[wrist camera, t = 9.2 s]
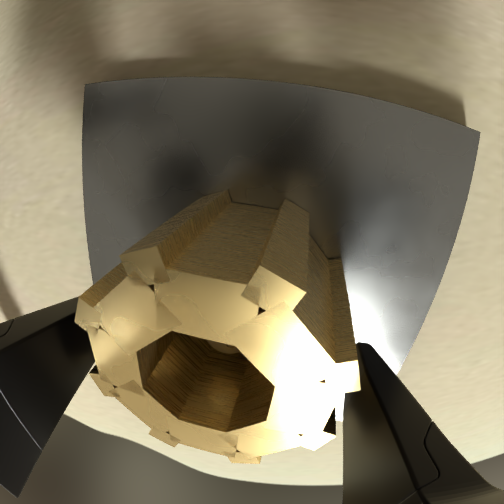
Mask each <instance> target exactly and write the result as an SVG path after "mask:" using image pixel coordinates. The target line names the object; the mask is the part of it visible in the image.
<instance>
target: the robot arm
mask: <svg viewBox="0 0 504 504" xmlns="http://www.w3.org/2000/svg"><path fill="white" fill-rule="evenodd" d="M79 297H80V296H79ZM79 297H76V298H73V299H70V300H67V301H64V302H61V303H58V304H55V305H52V306H50V307H47V308H44V309H41V310H38V311H35V312H32V313H29V314H26V315H23V316H20V317H18V318H15V320H14V319H12V320H9V321H6V322H3V323H0V485H1V486H3V487H4V488H5V489H6V490H8V491H9V492H10V493H11V494H13V495H14V496H15V497H16V498H18V497H19V495H20V494H21V492H22V490H23V487H24V486H25V483H26V482H27V480H28V478H29V475H30V474H31V472H32V470H33V468H34V466H35V464H36V462H37V460H38V458H39V456H40V455H41V453H42V450H43V449H44V447H45V445H46V443H47V441H48V439H49V438H50V436H51V434H52V432H53V431H54V429H55V427H56V425H57V423H58V422H59V420H60V418H61V417H62V415H63V413H64V411H65V410H66V408H67V406H68V405H69V403H70V401H71V400H72V398H73V396H74V395H75V393H76V391H77V390H78V388H79V386H80V385H81V383H82V381H83V380H84V378H85V377H86V375H87V373H88V372H89V370H90V369H91V367H92V365H93V364H94V362H95V358H94V354H93V351H92V347H91V343H90V339H89V335H88V332H87V331H86V330H84V329H83V328H82V327H80V326H79V325H78V324H76V323H75V316H76V310H77V304H78V298H79ZM356 350H357V357H358V366H359V376H360V388H361V390H359V391H353V392H346V393H344V404H343V500H342V504H504V490H501V489H499V488H496V487H494V486H492V485H491V484H490V483H488V482H487V481H486V480H485V479H484V478H483V477H482V476H481V475H480V474H479V473H478V472H477V470H476V469H474V467H472V465H471V464H470V463H469V462H468V461H467V460H466V459H465V458H464V457H463V456H462V455H461V454H460V453H459V451H458V450H457V449H456V448H455V447H454V446H453V445H452V444H451V443H450V441H449V440H448V439H447V438H446V437H445V435H444V434H443V433H442V432H441V430H440V429H439V428H438V427H437V425H436V424H435V423H434V422H433V421H432V419H431V418H430V417H429V415H428V414H427V413H426V412H425V410H424V409H423V408H422V407H421V405H420V404H419V403H418V402H417V400H416V399H415V398H414V397H413V395H412V394H411V393H410V392H409V390H408V389H407V388H406V387H405V385H404V384H403V383H402V382H401V380H400V379H399V378H398V377H397V375H396V374H395V373H394V372H393V371H392V369H391V368H390V367H389V366H388V364H387V363H386V362H385V361H384V360H383V358H382V357H381V356H380V355H379V354H378V352H377V351H376V350H375V349H374V348H373V346H372V345H371V344H369V343H364V342H357V343H356ZM431 421H432V422H431Z"/></svg>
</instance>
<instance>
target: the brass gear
mask: <svg viewBox="0 0 504 504" xmlns="http://www.w3.org/2000/svg"><path fill="white" fill-rule="evenodd" d="M309 215H310V213H309V212H307V211H305V210H304V209H302V208H301V207H299V206H297V205H296V204H294V203H292V202H291V201H289V200H287V199H286V198H285V199H284V201H283V202H282V204H281V206H280V207H279V209H272V208H265V207H259V206H253V205H246V204H240V203H233V202H231V198H230V195H229V192H228V190H224V191H220V192H217V193H213V194H209V195H206V196H202V197H201V198H199V199H198V200H196V201H195V202H193V203H192V204H191V205H189V206H188V207H186V208H185V209H183V210H182V211H180V212H179V213H177V214H176V215H174V216H173V217H172V218H170V219H169V220H167V221H166V222H164V223H163V224H162V225H160V226H159V227H157V228H156V229H155V230H153V231H152V232H150V233H149V234H148V235H146V236H145V237H143V238H142V239H141V240H139V241H138V242H137V243H135V244H134V245H133V246H131V247H130V248H129V249H127V250H126V251H125V252H123V253H122V254H121V255H119V257H120V259H121V261H122V262H121V263H120V264H118V265H117V266H116V267H115V268H113V269H112V270H111V271H110V272H108V273H107V274H106V275H105V276H103V277H102V278H101V279H100V280H99V281H97V282H96V283H95V284H94V285H93V286H91V287H90V288H89V289H88V290H87V291H85V292H84V293H83V294H82V295H81V296H80V297H79V298H78V304H77V310H76V316H75V323H76V324H78V325H79V326H80V327H82V328H83V329H84V330H86V331H87V332H88V335H89V339H90V343H91V347H92V351H93V354H94V358H95V362H96V365H95V366H94V368H93V369H92V370H91V371H90V373H89V374H90V376H91V377H92V379H93V380H94V382H95V383H96V385H97V386H98V387H99V389H100V390H101V392H102V393H103V394H104V396H111V397H115V398H116V399H117V400H119V401H120V402H121V403H122V404H123V405H124V406H125V407H126V408H127V409H129V410H130V411H131V412H132V413H133V414H134V415H136V416H137V417H138V418H139V419H140V420H141V421H143V422H144V423H145V424H146V425H148V426H149V427H150V428H151V430H150V432H149V434H150V435H152V436H153V437H155V438H157V439H159V440H161V441H163V442H165V443H167V444H169V445H171V446H173V447H175V446H176V445H177V444H178V443H180V444H183V445H187V446H190V447H194V448H197V449H201V450H205V451H208V452H212V453H216V454H220V455H225V456H227V457H228V458H229V460H230V461H231V463H250V464H260V460H261V456H262V455H267V454H271V453H275V452H279V451H283V450H287V449H291V448H294V447H298V446H303V447H306V448H309V449H311V450H316V449H317V448H319V447H320V446H322V445H323V444H325V443H326V442H328V441H329V440H331V439H332V438H334V437H335V436H336V402H337V400H338V398H339V395H340V393H346V392H353V391H359V390H361V388H360V376H359V366H358V357H357V350H356V342H355V335H354V329H353V322H352V316H351V309H350V303H349V298H348V292H347V286H346V281H345V275H344V270H343V265H342V260H341V258H337V259H332V260H328V259H327V258H326V256H325V255H324V254H323V252H322V251H321V249H320V248H319V247H318V245H317V244H316V242H315V241H314V240H313V238H312V237H311V235H310V234H309ZM206 339H207V340H211V341H215V342H220V343H224V344H229V345H233V346H236V347H237V348H238V349H239V350H240V352H238V353H234V354H227V353H222V352H220V351H217V350H216V349H214V348H213V347H212V346H211V345H210V344H209V343H208V341H207V340H206Z"/></svg>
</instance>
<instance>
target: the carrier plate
mask: <svg viewBox="0 0 504 504" xmlns="http://www.w3.org/2000/svg"><path fill="white" fill-rule="evenodd" d="M479 138H480V132H479V131H476V130H474V129H471V128H469V127H466V126H463V125H461V124H458V123H455V122H452V121H450V120H447V119H444V118H441V117H438V116H435V115H432V114H429V113H426V112H423V111H419V110H416V109H413V108H409V107H406V106H402V105H399V104H395V103H391V102H387V101H383V100H379V99H375V98H371V97H367V96H362V95H357V94H353V93H348V92H343V91H338V90H332V89H326V88H320V87H314V86H308V85H301V84H293V83H285V82H276V81H266V80H255V79H241V78H222V77H161V78H141V79H128V80H117V81H107V82H99V83H91V84H85V91H84V106H83V129H82V172H83V196H84V211H85V223H86V234H87V243H88V251H89V259H90V266H91V273H92V280H93V285H94V284H95V283H96V282H97V281H99V280H100V279H101V278H102V277H103V276H105V275H106V274H107V273H108V272H110V271H111V270H112V269H113V268H115V267H116V266H117V265H118V264H120V263H121V262H122V261H121V259H120V257H119V255H121V254H122V253H123V252H125V251H126V250H127V249H129V248H130V247H131V246H133V245H134V244H135V243H137V242H138V241H139V240H141V239H142V238H143V237H145V236H146V235H148V234H149V233H150V232H152V231H153V230H155V229H156V228H157V227H159V226H160V225H162V224H163V223H164V222H166V221H167V220H169V219H170V218H172V217H173V216H174V215H176V214H177V213H179V212H180V211H182V210H183V209H185V208H186V207H188V206H189V205H191V204H192V203H193V202H195V201H196V200H198V199H199V198H201V197H202V196H206V195H209V194H213V193H217V192H220V191H224V190H228V192H229V195H230V198H231V202H233V203H240V204H246V205H253V206H259V207H265V208H272V209H279V207H280V206H281V204H282V202H283V201H284V199H285V198H286V199H287V200H289V201H291V202H292V203H294V204H296V205H297V206H299V207H301V208H302V209H304V210H305V211H307V212H309V213H310V215H309V234H310V235H311V237H312V238H313V240H314V241H315V242H316V244H317V245H318V247H319V248H320V249H321V251H322V252H323V254H324V255H325V256H326V258H327V259H328V260H332V259H337V258H341V260H342V265H343V270H344V275H345V281H346V286H347V292H348V298H349V303H350V309H351V316H352V322H353V329H354V335H355V342H356V343H357V342H364V343H369V344H371V345H372V346H373V348H374V349H375V350H376V351H377V352H378V354H379V355H380V356H381V357H382V358H383V360H384V361H385V362H386V363H387V364H388V366H389V367H390V368H391V369H392V371H393V372H394V373H395V374H396V375H397V374H398V372H399V370H400V368H401V366H402V365H403V363H404V361H405V359H406V357H407V355H408V353H409V351H410V349H411V347H412V345H413V343H414V341H415V339H416V337H417V335H418V333H419V331H420V329H421V326H422V324H423V322H424V320H425V318H426V315H427V313H428V311H429V309H430V306H431V304H432V302H433V299H434V297H435V294H436V292H437V289H438V287H439V284H440V282H441V279H442V277H443V274H444V271H445V268H446V266H447V263H448V260H449V257H450V254H451V251H452V248H453V245H454V242H455V239H456V236H457V233H458V229H459V226H460V223H461V219H462V216H463V212H464V208H465V205H466V201H467V197H468V193H469V189H470V184H471V180H472V175H473V171H474V166H475V161H476V156H477V150H478V144H479ZM206 340H207V339H206ZM207 341H208V343H209V344H210V345H211V346H212V347H213V348H214V349H216V350H217V351H220V352H222V353H227V354H234V353H238V352H240V350H239V349H238V348H237V347H236V346H233V345H229V344H224V343H220V342H215V341H211V340H207ZM343 404H344V393H340V395H339V398H338V400H337V402H336V420H338V421H343Z"/></svg>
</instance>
